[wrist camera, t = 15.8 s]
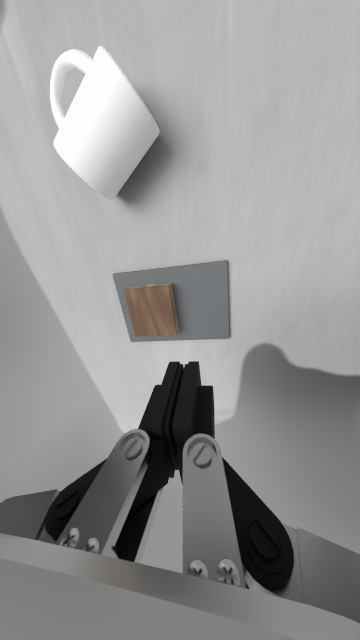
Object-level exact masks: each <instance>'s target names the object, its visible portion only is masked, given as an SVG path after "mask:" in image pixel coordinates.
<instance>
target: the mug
mask: <svg viewBox="0 0 360 640" xmlns="http://www.w3.org/2000/svg"><path fill="white" fill-rule="evenodd" d="M73 69H78V70H80V71H82V72H83V73H84V74H85V76H84V79H83V81H82V83H81V85H80V87H79V89H78V91H77V93H76V95H75V97H74V100H73V102H72V104H71V106H70V108H69V110H68V112H67V114H66V116H65V114H64V111H63V109H62V104H61V98H62V92H63V88H64V85H65V82H66V79H67V77H68V75H69V73H70V72H71V71H72V70H73ZM50 98H51V106H52V111H53V115H54V118H55V121H56V123H57V125H58V127H59V131H58V133H57V135H56V137H55V139H54V142H53V144H54V147H55V149H56V151H57V152H58V154H59V155H60V156H61V158H62V159H63V160H64V161H65V162H66V163H67V164H68V166H69V167H70V168H71V169H72V170H73V171H74V172H75V173H76V174H77V175H78V176H80V177H81V178H82V179H83V180H84V181H85V182H86V183H87V184H89V185H90V186H91V187H92V188H94V189H95V190H96V191H98V192H99V193H100V194H102V195H104V196H105V197H107V198H110V199H114V198H115V197H116V195H117V194H118V192H119V191H120V189H121V188H122V187H123V185H124V184H125V182H126V181H127V179H128V178H129V177H130V175H131V174H132V172H133V171H134V169H135V168H136V167H137V165H138V164H139V162H140V161H141V160H142V158H143V157H144V155H145V154H146V152H147V151H148V150H149V148H150V147H151V145H152V144H153V142H154V141H155V140H156V138H157V137H158V135H159V133H160V131H159V128H158V126H157V124H156V122H155V120H154V118H153V117H152V115H151V113H150V112H149V110H148V108H147V107H146V105H145V104H144V102H143V100H142V99H141V97H140V96H139V94H138V93H137V91H136V90H135V88H134V87H133V85H132V84H131V82H130V81H129V79H128V78H127V77H126V75H125V74H124V72H123V71H122V70H121V68H120V67H119V65H118V64H117V63H116V61H115V60H114V59H113V58H112V56H111V55H110V54H109V53H108V51H107V50H106V49H105V48H104V47H102V46H99V47H98V49H97V51H96V53H95V56H94V58H93V59H92V58H91V57H90V56H89V55H87V54H86V53H84V52H82V51H80V50H76V49H72V50H68V51H66V52H64V53H63V54H62V55H60V57H59V58H58V59H57V61H56V62H55V64H54V67H53V70H52V74H51V82H50Z"/></svg>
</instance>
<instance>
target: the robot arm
mask: <svg viewBox="0 0 360 640" xmlns="http://www.w3.org/2000/svg"><path fill="white" fill-rule="evenodd" d="M178 469H179V472H180V476H181V481H182V485H183V574H182V573H178V572H173V571H169V570H165V569H160V568H156V567H152V566H148V565H143V564H140V561H141V558H142V555H143V551H144V548H145V545H146V542H147V539H148V536H149V532H150V529H151V526H152V523H153V520H154V516H155V513H156V510H157V507H158V504H159V501H160V497H161V495H162V489H163V487H164V486H165V485H166V484H167V483H168V479H169V477H171V478H173V477H174V472H175V470H178ZM0 640H360V554H358V553H356V552H353V551H351V550H349V549H347V548H344V547H342V546H340V545H338V544H335V543H333V542H330V541H328V540H326V539H324V538H322V537H319V536H317V535H315V534H312V533H310V532H308V531H306V530H303V529H301V528H299V527H297V529H294V528H292V527H290V526H288V525H285V524H283V523H281V522H280V521H279V519H278V518H277V517H276V516H275V515H274V514H273V513H272V511H271V510H270V509H269V508H268V507H267V506H266V505H265V504H264V503H263V501H261V499H260V498H259V497H258V496H257V495H256V494H255V493H254V491H253V490H252V489H251V488H250V487H249V486H248V485H247V484H246V483H245V482H244V481H243V480H242V478H241V477H240V476H239V475H238V474H237V473H236V472H235V471H234V470H233V468H232V467H231V466H230V465H229V464H228V463H227V462H226V461H225V460H224V459H223V457H222V455H221V450H220V447H219V444H218V443H217V442H216V440H215V437H214V396H213V386H201V378H200V369H199V362H189V363H188V364H185V367H183V364H180V362H169V365H168V367H167V370H166V373H165V376H164V379H163V382H162V385H156V386H155V387H154V389H153V392H152V395H151V397H150V400H149V402H148V405H147V407H146V410H145V412H144V415H143V418H142V420H141V423H140V425H139V428H138V429H135V430H131V431H129V432H127V433H125V434H124V435H123V436H122V437H121V438H120V439H119V441H118V442H117V443H116V445H115V447H114V448H113V450H112V452H111V453H110V455H109V456H108V458H107V459H106V460H104V461H103V462H101V463H100V464H98V465H97V466H96V467H94V468H93V469H91V470H90V471H88V472H87V473H86V474H84V475H83V476H81V477H80V478H78V479H77V480H76V481H75V482H73V483H71V484H70V485H68V486H67V487H66V488H65V489H63V490H62V491H58V490H57V489H56V490H50V491H44V492H38V493H33V494H27V495H21V496H15V497H11V498H8V499H6V500H4V501H3V502H1V503H0Z"/></svg>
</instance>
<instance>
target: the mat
mask: <svg viewBox="0 0 360 640" xmlns="http://www.w3.org/2000/svg"><path fill="white" fill-rule="evenodd" d="M113 278H114V281H115V285H116V289H117V292H118V296H119V300H120V304H121V307H122V311H123V315H124V318H125V322H126V326H127V329H128V333H129V337H130V340H131V342H138V341H168V340H197V339H226V338H229V308H228V273H227V260H226V261H218V262H209V263H201V264H192V265H184V266H175V267H167V268H158V269H150V270H141V271H133V272H124V273H116V274H113ZM163 283H172V287H173V294H174V301H175V307H176V314H177V321H178V328H179V329H178V332H177V335H163V336H136V337H135V333H134V329H133V325H132V322H131V318H130V314H129V310H128V306H127V302H126V298H125V294H124V290H125V289H126V288H128V287H133V286H143V285H153V284H163Z"/></svg>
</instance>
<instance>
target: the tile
mask: <svg viewBox="0 0 360 640" xmlns="http://www.w3.org/2000/svg"><path fill="white" fill-rule="evenodd" d="M124 294H125V298H126V302H127V306H128V310H129V314H130V318H131V322H132V325H133V329H134V333H135V337H136V336H163V335H177V332H178V329H179V328H178V321H177V314H176V307H175V301H174V294H173V287H172V283H163V284H153V285H143V286H133V287H128V288H126V289H125V290H124Z"/></svg>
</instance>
